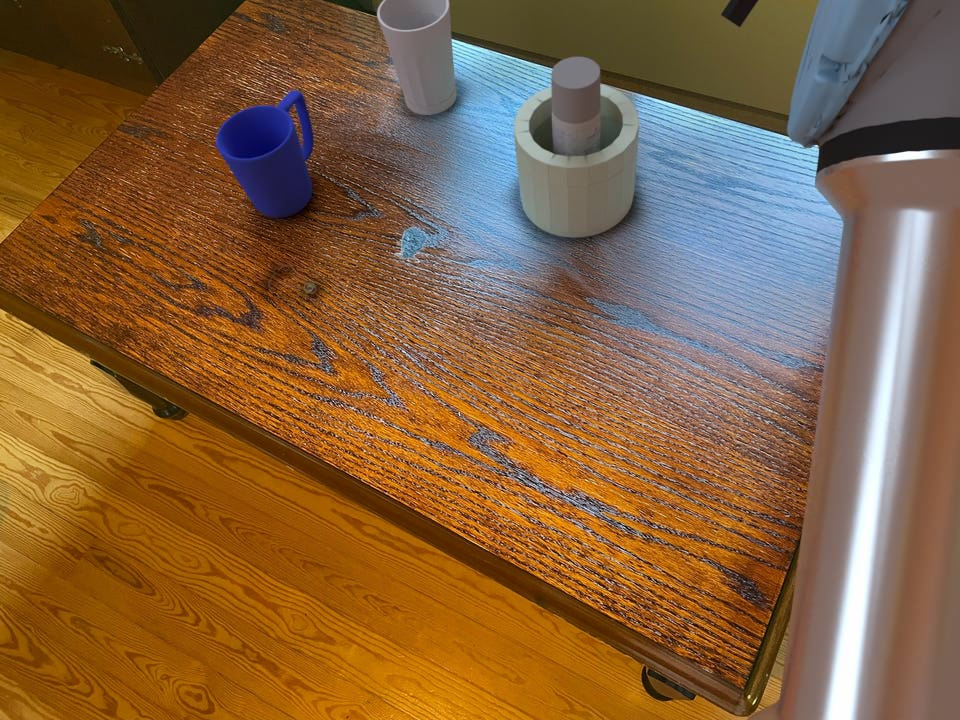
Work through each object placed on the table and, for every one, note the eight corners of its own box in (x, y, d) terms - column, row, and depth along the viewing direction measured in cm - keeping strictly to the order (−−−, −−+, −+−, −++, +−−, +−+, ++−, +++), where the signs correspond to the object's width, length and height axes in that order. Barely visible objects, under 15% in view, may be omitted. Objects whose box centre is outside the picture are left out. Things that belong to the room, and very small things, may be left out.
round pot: (654, 181, 84) (662, 107, 76) (592, 255, 80) (593, 185, 72) (562, 140, 89) (560, 67, 81) (499, 208, 85) (489, 137, 76)
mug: (350, 159, 91) (326, 89, 83) (296, 235, 86) (265, 168, 78) (292, 144, 94) (263, 75, 86) (236, 216, 89) (199, 150, 80)
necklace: (314, 295, 81) (311, 290, 80) (265, 292, 82) (262, 287, 81) (322, 271, 83) (319, 265, 82) (275, 267, 84) (272, 262, 83)
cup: (457, 120, 93) (441, 31, 83) (392, 119, 94) (369, 31, 84) (468, 75, 97) (455, -15, 87) (406, 74, 98) (385, -14, 88)
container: (594, 208, 82) (596, 91, 70) (551, 202, 83) (544, 87, 71) (602, 175, 85) (605, 57, 72) (560, 171, 86) (555, 53, 73)
